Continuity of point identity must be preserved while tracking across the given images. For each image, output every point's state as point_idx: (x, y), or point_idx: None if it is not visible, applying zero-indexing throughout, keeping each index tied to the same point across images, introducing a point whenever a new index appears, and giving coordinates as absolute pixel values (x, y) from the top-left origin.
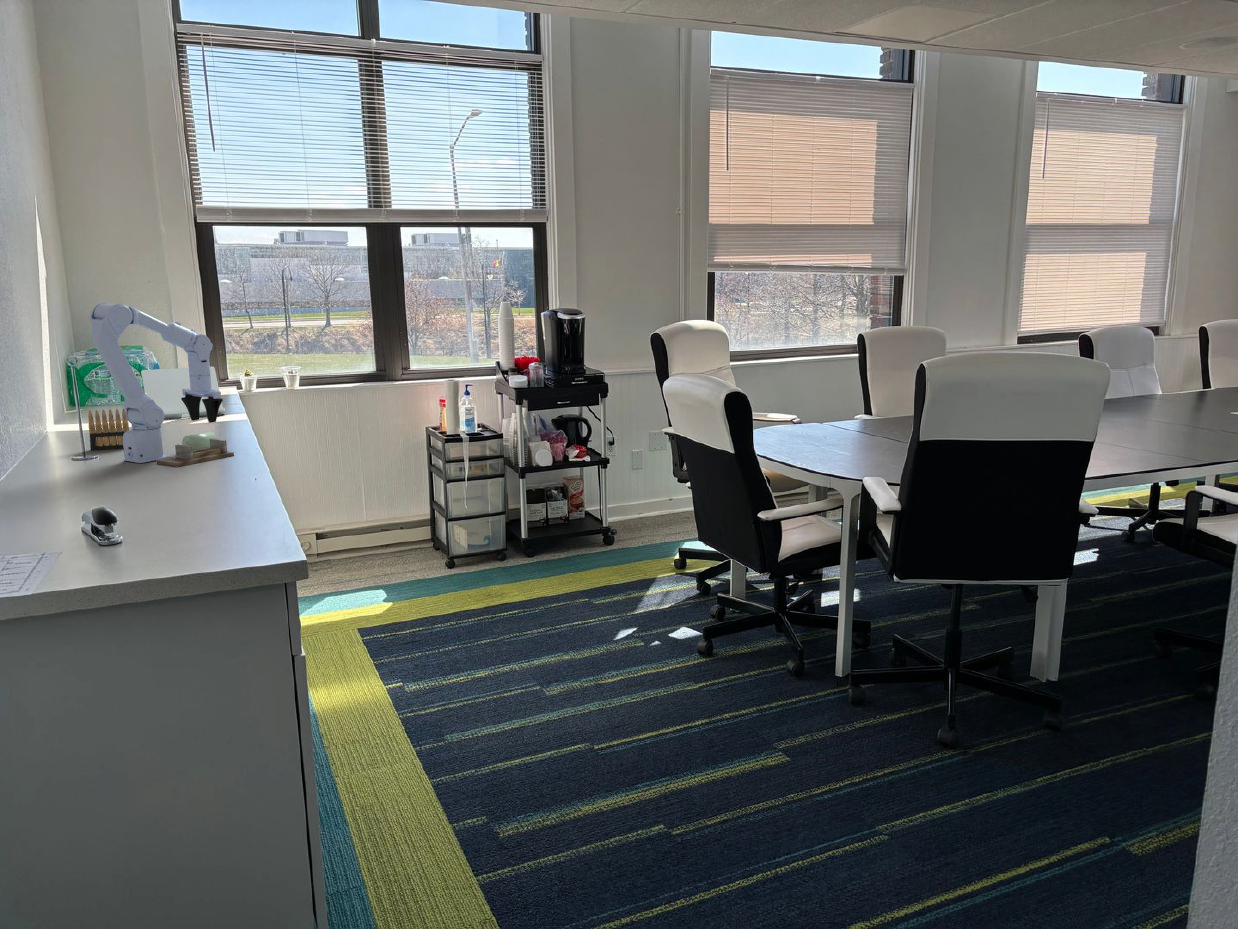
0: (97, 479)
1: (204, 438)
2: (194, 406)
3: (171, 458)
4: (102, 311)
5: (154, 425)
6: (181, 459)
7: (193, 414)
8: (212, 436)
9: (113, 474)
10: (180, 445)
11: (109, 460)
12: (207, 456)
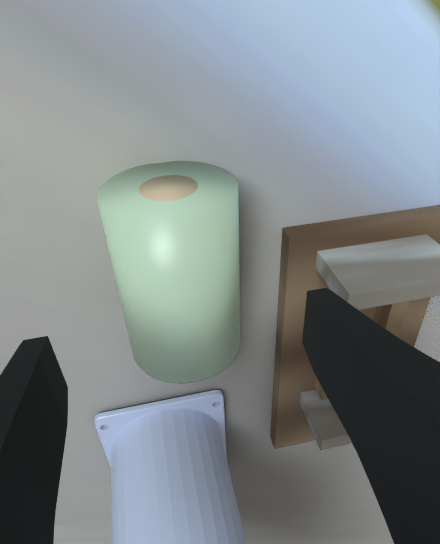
0: (309, 535)
1: (235, 286)
2: (28, 523)
3: (299, 416)
4: None
5: None
6: None
7: (53, 435)
8: (232, 229)
9: (293, 515)
10: (349, 440)
11: (68, 509)
12: (403, 328)
